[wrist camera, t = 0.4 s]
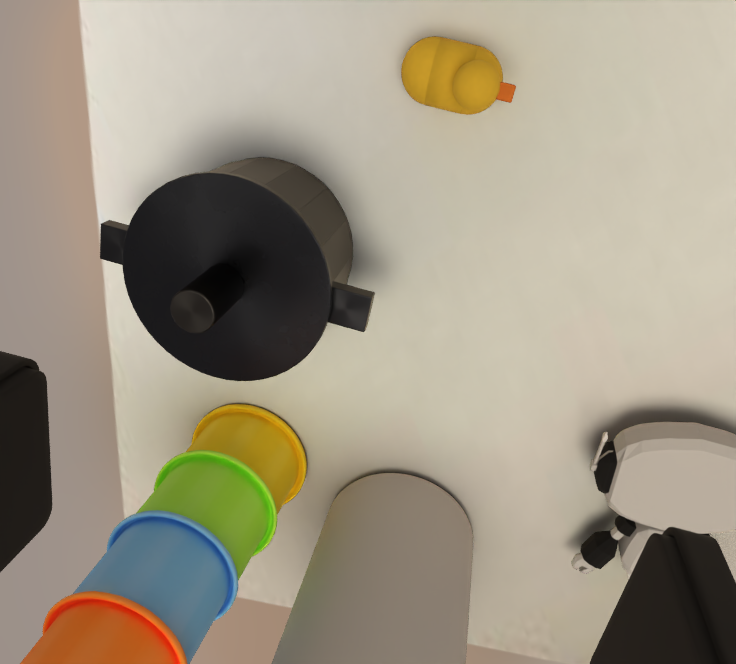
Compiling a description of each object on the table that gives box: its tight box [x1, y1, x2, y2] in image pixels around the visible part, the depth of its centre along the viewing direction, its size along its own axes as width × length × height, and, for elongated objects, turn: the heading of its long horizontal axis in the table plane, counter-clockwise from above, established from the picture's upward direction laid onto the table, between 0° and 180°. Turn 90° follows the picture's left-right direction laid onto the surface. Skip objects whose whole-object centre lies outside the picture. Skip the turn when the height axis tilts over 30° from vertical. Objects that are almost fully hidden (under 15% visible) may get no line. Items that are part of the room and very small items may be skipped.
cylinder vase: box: [272, 473, 473, 664], centre depth 44 cm, size 12×12×25 cm
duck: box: [401, 36, 516, 115], centre depth 37 cm, size 7×4×6 cm, turn 78°
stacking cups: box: [20, 404, 307, 664], centre depth 40 cm, size 10×10×35 cm
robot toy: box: [571, 422, 736, 580], centre depth 47 cm, size 12×4×15 cm
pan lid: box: [123, 172, 333, 381], centre depth 38 cm, size 13×13×6 cm
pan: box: [100, 157, 375, 332], centre depth 43 cm, size 12×18×8 cm
